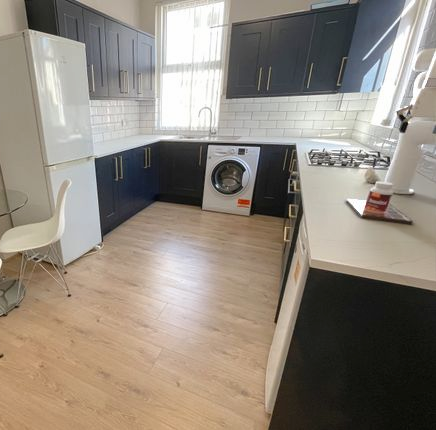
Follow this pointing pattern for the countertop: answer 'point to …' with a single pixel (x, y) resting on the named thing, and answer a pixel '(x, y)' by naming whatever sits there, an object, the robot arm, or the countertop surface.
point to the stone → (371, 176)
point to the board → (389, 215)
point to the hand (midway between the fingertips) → (418, 133)
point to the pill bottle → (379, 197)
